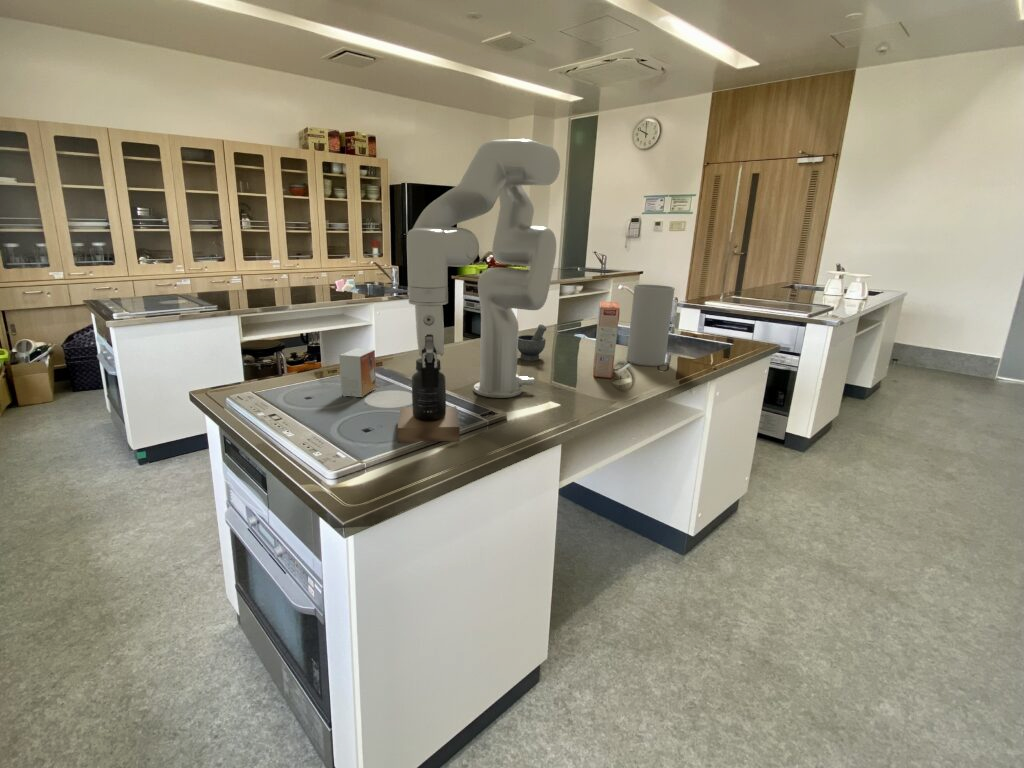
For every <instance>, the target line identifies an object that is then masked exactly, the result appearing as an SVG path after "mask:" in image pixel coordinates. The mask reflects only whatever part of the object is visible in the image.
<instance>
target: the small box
mask: <svg viewBox="0 0 1024 768" xmlns="http://www.w3.org/2000/svg"><path fill="white" fill-rule="evenodd" d="M338 359H339V371H340V372H339V373H340V374H339V375H340V376H339V377H340V391H341V394H340V395H341V396H342V395H343V396H342V397H346V396H356V397H363V396H364V395H366V394H367V393H369V392H370V391H372V390H373V389H374V388H376V389H377V383H376V382H377V378H376V377H377V376H376V375H377V374H376V351H375V349H368V348H367V349H365V348H357V347H356V348H353V349H351V350H349V351H347V352H344V353H341V354H339V356H338ZM372 392H373V391H372ZM369 394H370V393H369ZM367 395H368V394H367ZM367 395H366V396H367ZM356 397H355V398H356ZM364 397H365V396H364ZM364 397H363V398H364Z"/></svg>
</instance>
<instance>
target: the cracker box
mask: <svg viewBox="0 0 1024 768" xmlns="http://www.w3.org/2000/svg"><path fill="white" fill-rule="evenodd" d="M619 305H620V304H619V302H617V301H608V300H607V301H605V300H603V301H599V306H598V316H597V317H598V318H597V325H596V326H597V327H596V336H595V347H594V355H593V377H594V378H605V379H612V378H613V376H614V375H613V374H614V366H615V355H616V349H617V348H616V345H617V337H618V330H619V320H620V313H621V312H620V310H621V309H620V306H619Z"/></svg>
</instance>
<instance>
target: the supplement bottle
mask: <svg viewBox="0 0 1024 768" xmlns="http://www.w3.org/2000/svg"><path fill="white" fill-rule="evenodd" d="M415 365H416V366H415V370H416V372H414V373H413V375H411V398H412V399H411V402H412V403H411V405H412V406H411V407H413V416H414V418H415V419H417V420H420V421H437V420H440V419H442V418H444V417H445V415H446V407H447V398H446V397H447V393H446V392H447V391H446V389H447V388H446V387H447V386H446V384H447V383H446V376H445V374H444V373H443V372H442V371H441V369H442V366H441V359H440V358H439V359H438V358H437V367H438V380H439V386H438V387H437V388H423V387H422V372H421V367H423V359H422V357H421V358H418V359H416V361H415ZM425 365H426V364H425ZM425 367H426V366H425Z"/></svg>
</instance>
